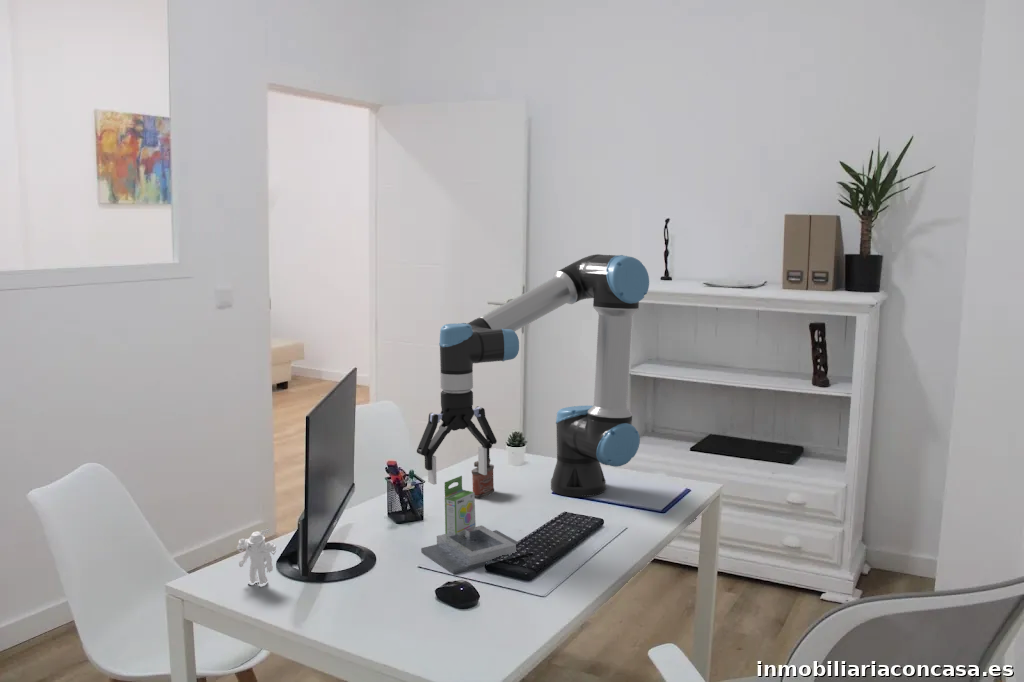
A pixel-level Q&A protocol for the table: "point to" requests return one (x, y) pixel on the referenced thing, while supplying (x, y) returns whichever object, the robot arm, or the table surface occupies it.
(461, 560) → the chassis plate
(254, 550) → the flower shoulder figurine
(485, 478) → the lighter
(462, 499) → the ink box
